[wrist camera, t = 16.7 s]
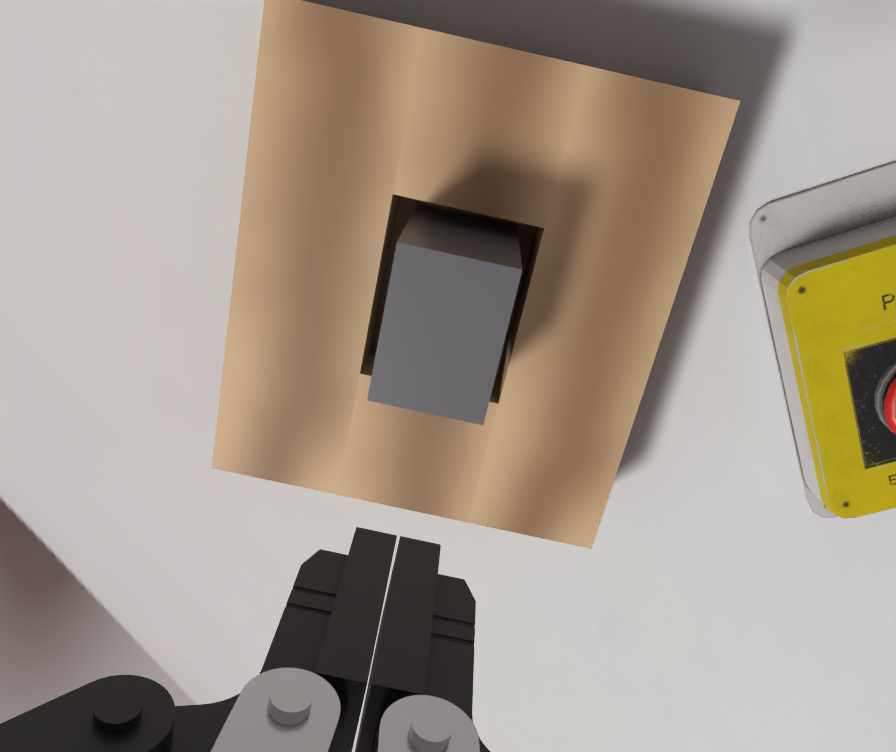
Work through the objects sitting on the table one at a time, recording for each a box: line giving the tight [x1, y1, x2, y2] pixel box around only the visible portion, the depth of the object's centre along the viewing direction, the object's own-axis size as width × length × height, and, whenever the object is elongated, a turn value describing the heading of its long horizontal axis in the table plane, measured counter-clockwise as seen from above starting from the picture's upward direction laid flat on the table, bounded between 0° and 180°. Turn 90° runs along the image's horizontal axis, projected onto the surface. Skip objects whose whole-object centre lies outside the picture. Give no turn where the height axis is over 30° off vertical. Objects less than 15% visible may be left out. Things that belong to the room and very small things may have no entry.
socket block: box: [212, 0, 740, 549], centre depth 31 cm, size 16×18×4 cm
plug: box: [367, 204, 522, 425], centre depth 29 cm, size 4×6×7 cm
